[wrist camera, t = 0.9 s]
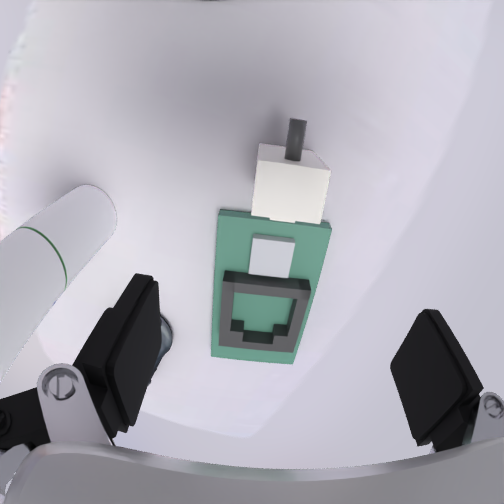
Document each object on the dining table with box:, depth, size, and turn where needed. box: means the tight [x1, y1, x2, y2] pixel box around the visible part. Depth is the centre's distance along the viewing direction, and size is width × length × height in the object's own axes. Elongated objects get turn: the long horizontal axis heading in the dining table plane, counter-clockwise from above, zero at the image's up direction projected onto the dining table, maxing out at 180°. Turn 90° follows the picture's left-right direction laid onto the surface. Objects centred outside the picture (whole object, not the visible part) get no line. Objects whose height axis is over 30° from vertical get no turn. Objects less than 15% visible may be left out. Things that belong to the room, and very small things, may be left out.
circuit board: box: [211, 209, 332, 364], centre depth 33 cm, size 20×11×4 cm, turn 173°
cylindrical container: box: [0, 185, 117, 383], centre depth 19 cm, size 7×7×25 cm
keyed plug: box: [251, 118, 331, 224], centre depth 23 cm, size 8×5×8 cm, turn 173°
